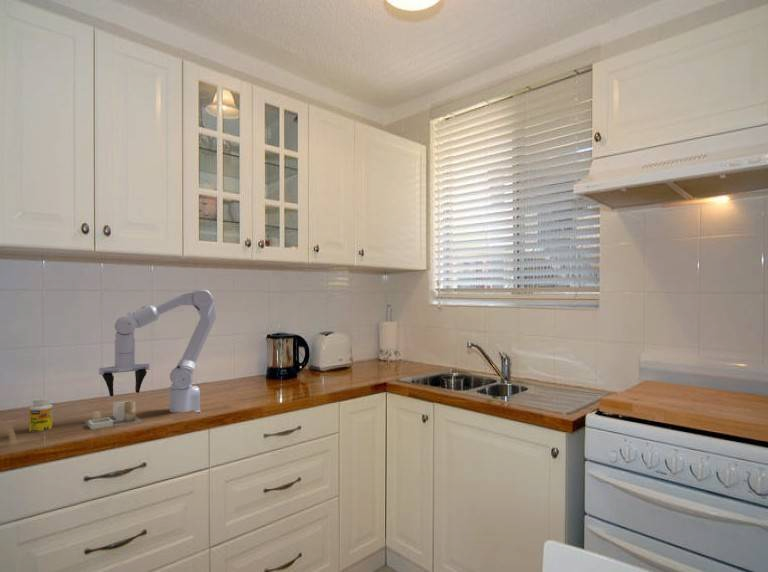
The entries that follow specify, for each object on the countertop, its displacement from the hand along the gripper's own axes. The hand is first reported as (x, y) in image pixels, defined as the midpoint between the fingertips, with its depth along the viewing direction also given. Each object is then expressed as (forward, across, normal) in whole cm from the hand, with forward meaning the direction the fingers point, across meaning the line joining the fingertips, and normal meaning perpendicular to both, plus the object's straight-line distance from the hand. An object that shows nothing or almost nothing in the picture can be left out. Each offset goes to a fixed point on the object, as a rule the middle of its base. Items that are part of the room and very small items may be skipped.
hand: (124, 394), depth 151 cm
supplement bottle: (+9, +22, -1) cm, 24 cm away
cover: (+7, 0, 0) cm, 7 cm away
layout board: (+9, +4, +4) cm, 10 cm away
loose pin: (+7, 0, +7) cm, 10 cm away
